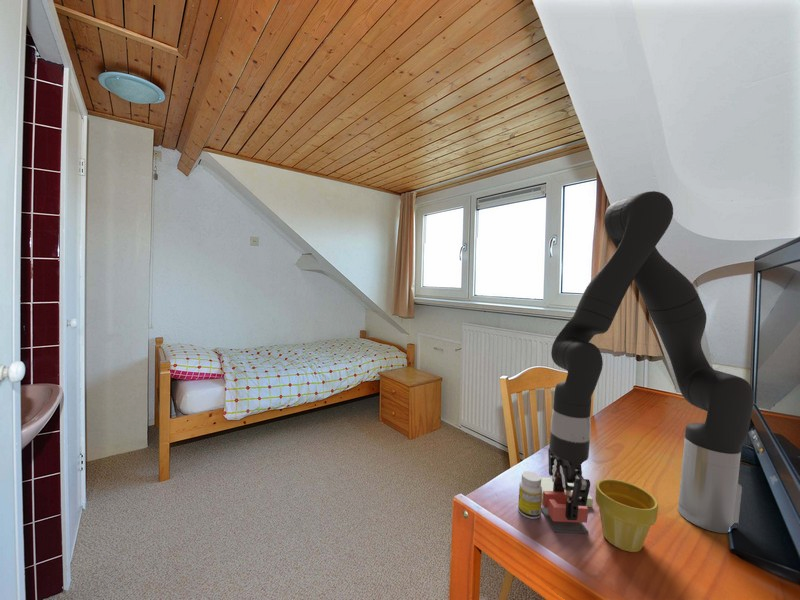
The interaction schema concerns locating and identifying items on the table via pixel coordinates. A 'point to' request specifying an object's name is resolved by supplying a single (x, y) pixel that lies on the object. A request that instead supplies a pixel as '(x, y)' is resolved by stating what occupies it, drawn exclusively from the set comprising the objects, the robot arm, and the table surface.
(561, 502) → the c link
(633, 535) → the plant pot
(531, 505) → the supplement bottle
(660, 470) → the table surface
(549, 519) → the coaster
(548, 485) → the stand
